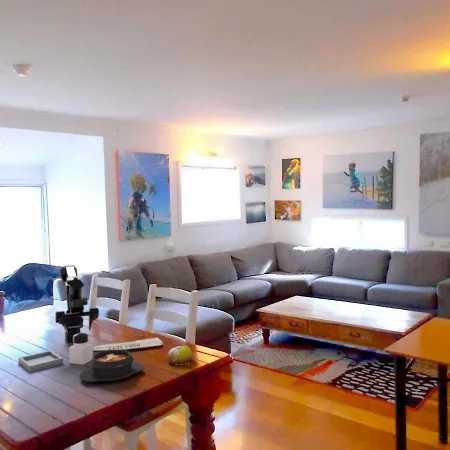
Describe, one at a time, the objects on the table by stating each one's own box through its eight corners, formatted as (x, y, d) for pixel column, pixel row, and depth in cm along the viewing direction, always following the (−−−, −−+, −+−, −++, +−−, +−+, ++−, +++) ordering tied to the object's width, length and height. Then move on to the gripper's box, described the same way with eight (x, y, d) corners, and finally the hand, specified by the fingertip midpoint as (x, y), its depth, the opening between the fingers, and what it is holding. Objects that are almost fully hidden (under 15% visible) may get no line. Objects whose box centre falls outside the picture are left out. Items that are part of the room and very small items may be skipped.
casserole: (88, 391, 172) (87, 369, 172) (74, 375, 188) (73, 355, 187) (151, 376, 186) (150, 355, 185) (133, 362, 201) (132, 343, 201)
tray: (50, 355, 212) (50, 350, 212) (63, 363, 201) (63, 358, 201) (18, 363, 203) (18, 357, 202) (29, 372, 192) (29, 366, 192)
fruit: (180, 354, 210) (184, 338, 208) (195, 366, 203) (199, 350, 201) (160, 360, 202) (163, 343, 200) (175, 373, 195) (178, 356, 193)
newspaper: (157, 341, 233) (157, 333, 233) (164, 348, 222) (164, 340, 221) (83, 351, 219) (83, 343, 219) (87, 359, 208) (87, 351, 207)
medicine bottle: (93, 359, 206) (92, 332, 205) (83, 365, 199) (82, 337, 199) (79, 357, 208) (78, 331, 208) (69, 363, 202) (68, 335, 201)
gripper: (54, 293, 208) (57, 324, 198) (97, 289, 215) (102, 319, 206) (54, 307, 216) (56, 337, 206) (95, 303, 223) (100, 332, 213)
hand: (79, 331), depth 208 cm, fingers open, 9 cm apart
